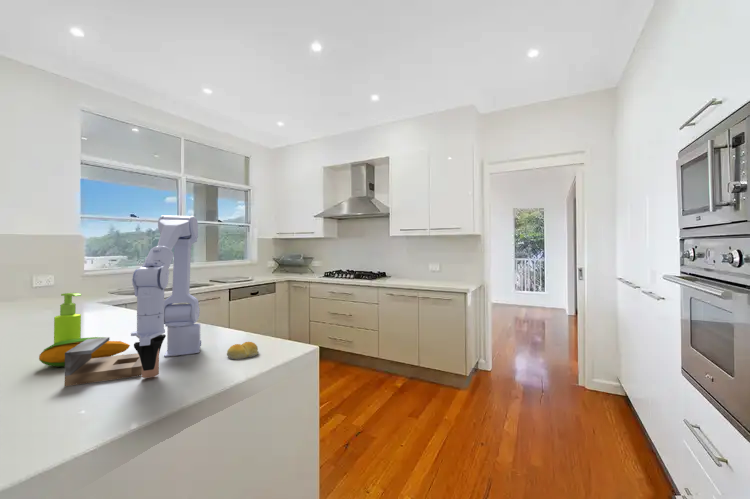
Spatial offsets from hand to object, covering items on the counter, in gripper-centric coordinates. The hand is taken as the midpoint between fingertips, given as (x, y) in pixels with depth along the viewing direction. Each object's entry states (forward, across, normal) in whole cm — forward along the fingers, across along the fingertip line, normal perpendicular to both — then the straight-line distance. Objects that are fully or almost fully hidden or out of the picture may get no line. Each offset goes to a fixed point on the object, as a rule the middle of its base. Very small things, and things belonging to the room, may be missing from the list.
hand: (150, 367), depth 81 cm
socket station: (+3, -10, -10) cm, 14 cm away
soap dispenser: (+3, -30, -26) cm, 39 cm away
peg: (+2, 0, 0) cm, 2 cm away
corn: (+3, -23, -19) cm, 30 cm away
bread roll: (+3, -10, +23) cm, 25 cm away
